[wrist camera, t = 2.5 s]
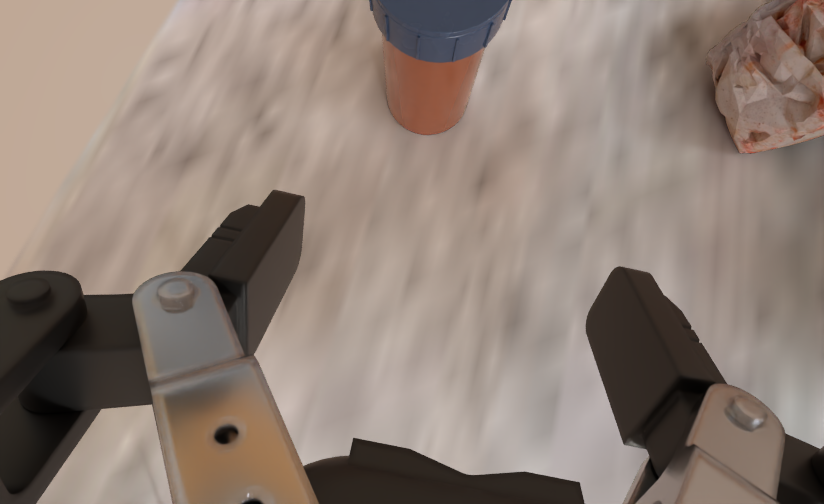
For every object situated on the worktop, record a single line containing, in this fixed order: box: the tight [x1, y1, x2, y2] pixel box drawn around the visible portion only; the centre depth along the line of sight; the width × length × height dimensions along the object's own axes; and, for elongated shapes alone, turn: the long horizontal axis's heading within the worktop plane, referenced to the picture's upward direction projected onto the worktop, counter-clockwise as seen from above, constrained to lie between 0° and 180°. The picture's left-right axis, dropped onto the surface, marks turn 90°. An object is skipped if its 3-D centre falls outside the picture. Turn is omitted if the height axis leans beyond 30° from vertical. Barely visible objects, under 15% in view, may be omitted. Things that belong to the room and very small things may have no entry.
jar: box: [382, 34, 485, 135], centre depth 24 cm, size 5×5×11 cm
